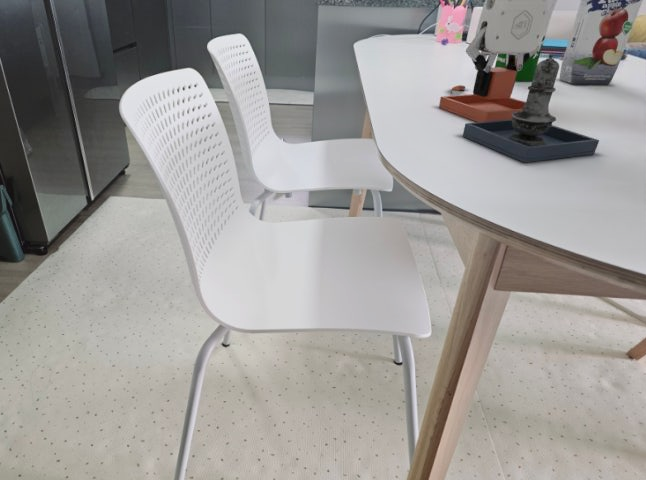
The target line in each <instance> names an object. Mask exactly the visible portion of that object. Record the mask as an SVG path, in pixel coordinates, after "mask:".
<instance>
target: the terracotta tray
mask: <svg viewBox="0 0 646 480" xmlns="http://www.w3.org/2000/svg"><path fill="white" fill-rule="evenodd" d="M525 103H526V101H524V100H520V99H516V98H513V97H510V98H507V99H493V100H489V99H485V98H482V97H479V96H476V95H473V93H471V94H464V95H457V96H450V95H445V96H440V100H439V105H438V109H442V110H445V111H447V112H450V113H451V114H455V115H458V116H461V117H463V118H466V119H468V120H471V121H474V122H486V121H497V120H508V119H513V118H512V116H511V114H512V113H514V112H519V111H520V110H522V108H523V107H524V105H525Z"/></svg>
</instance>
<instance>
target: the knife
mask: <svg viewBox="0 0 646 480" xmlns="http://www.w3.org/2000/svg"><path fill="white" fill-rule="evenodd" d="M465 89H466V86H465V85H461V84H460V85H455V86H453V87H452V88H451V91H450V92H451V95H449V96H457V95H466V92H464V91H461V90H465Z"/></svg>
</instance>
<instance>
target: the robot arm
mask: <svg viewBox="0 0 646 480" xmlns="http://www.w3.org/2000/svg"><path fill="white" fill-rule="evenodd" d="M547 1H548V0H484V2H483V6H482V9H481V12H480V16H479V19H478V23H477V27H476V31H475V35H474V36H475V37H474V38H473V40H472V41H471V42H470V43H469V44H468V46H467V47H466V49H465V53H466V54H467V56H468V57H469V58H470V59H471V61H472V63H473V65H474V70H476V71H477V73H476V76H475V80H474V85H473V90H472V94H476V95H479V96H482V97H486V96H487V95H488V90H489V86H490V82H491V78H492V72H490V70H491V68H493V66H494V63H495V62H496V60H497V56H498V54H507V56H506V69H510V70H514V71H517V72H518V71H520V70H521V69H522V66H523V64H524V63H525V62H526V61H527V60H528V59H529V57H531V56H532V55H533V54H535V53H536V52H537V51H538V50H539V45H538V43H539V39H540V36H541V32H542V27H543V23H544V18H545V13H546V8H547ZM514 55H515V56H516V57H515V58H514ZM516 76H517V74H516ZM515 80H516V78H515ZM515 83H516V81H515V82H514V84H515ZM514 86H515V85H514ZM514 86H513V89H512V93H511V95H512V94H513V90H514Z"/></svg>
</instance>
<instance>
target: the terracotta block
mask: <svg viewBox="0 0 646 480" xmlns="http://www.w3.org/2000/svg"><path fill="white" fill-rule="evenodd" d="M490 72H492V78H491V82H490V86H489V90H488V95H487V96H486V97H482V96H479V95H476V94H473V93H472V94H473V95H476V96H479V97H482V98H485V99H489V100H493V99H507V98H512V97H511V96H512V94H513V91H512V89H513V90H514V87H513V86H515V83H516V81H515V78H516V74H517V71H514V70H510V69H505V68H501V67H495V66H494V67H492V68H491V70H490ZM514 82H515V83H514ZM511 93H512V94H511Z"/></svg>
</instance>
